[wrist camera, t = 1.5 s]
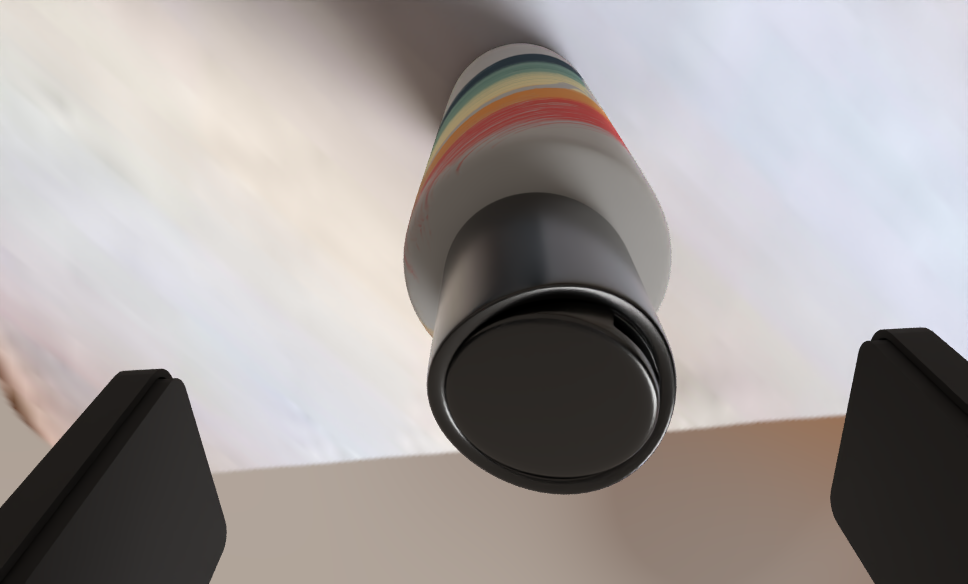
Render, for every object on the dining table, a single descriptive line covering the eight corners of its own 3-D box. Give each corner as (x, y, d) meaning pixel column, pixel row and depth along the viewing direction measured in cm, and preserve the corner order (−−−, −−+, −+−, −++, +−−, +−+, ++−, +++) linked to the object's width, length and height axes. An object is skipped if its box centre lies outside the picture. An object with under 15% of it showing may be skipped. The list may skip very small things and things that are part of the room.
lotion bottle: (616, 131, 28) (821, 454, 10) (501, 209, 30) (505, 606, 12) (538, 8, 26) (622, 142, 8) (419, 98, 28) (274, 374, 10)
